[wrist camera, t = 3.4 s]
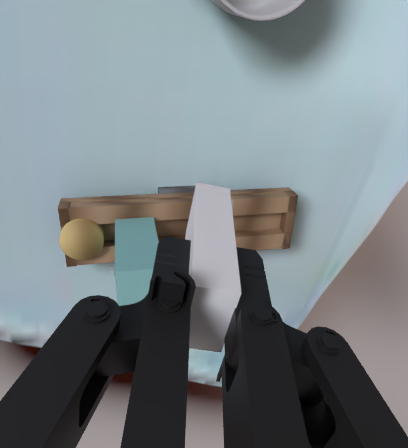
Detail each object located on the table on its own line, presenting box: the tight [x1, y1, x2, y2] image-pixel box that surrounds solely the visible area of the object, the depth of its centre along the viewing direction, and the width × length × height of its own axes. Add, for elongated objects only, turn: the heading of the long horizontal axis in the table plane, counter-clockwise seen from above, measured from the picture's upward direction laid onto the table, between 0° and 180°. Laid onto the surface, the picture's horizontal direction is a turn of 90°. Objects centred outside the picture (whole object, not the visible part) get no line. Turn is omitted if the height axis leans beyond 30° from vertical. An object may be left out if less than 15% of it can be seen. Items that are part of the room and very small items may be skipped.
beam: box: [58, 186, 298, 267], centre depth 43 cm, size 26×7×6 cm, turn 89°
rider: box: [115, 217, 159, 306], centre depth 37 cm, size 4×4×12 cm
